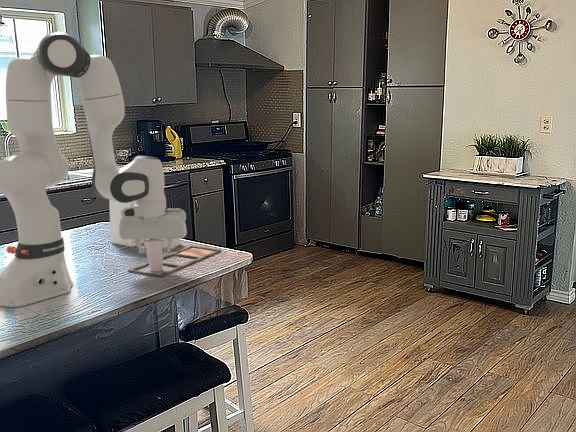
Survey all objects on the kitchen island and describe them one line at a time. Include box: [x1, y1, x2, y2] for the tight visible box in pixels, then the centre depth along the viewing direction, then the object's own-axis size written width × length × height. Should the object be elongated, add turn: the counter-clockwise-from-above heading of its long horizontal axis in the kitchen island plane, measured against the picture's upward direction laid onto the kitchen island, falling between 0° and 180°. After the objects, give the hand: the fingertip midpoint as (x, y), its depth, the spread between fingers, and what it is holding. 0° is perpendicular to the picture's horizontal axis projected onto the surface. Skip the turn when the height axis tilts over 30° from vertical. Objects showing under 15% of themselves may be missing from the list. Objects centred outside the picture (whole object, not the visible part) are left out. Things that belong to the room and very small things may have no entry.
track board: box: [127, 245, 222, 279], centre depth 188 cm, size 31×13×1 cm, turn 150°
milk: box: [108, 200, 145, 248], centre depth 212 cm, size 12×12×26 cm
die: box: [163, 238, 181, 250], centre depth 206 cm, size 6×6×6 cm
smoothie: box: [143, 239, 165, 272], centre depth 178 cm, size 6×6×14 cm
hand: (154, 252), depth 179 cm, fingers closed on smoothie, 6 cm apart
